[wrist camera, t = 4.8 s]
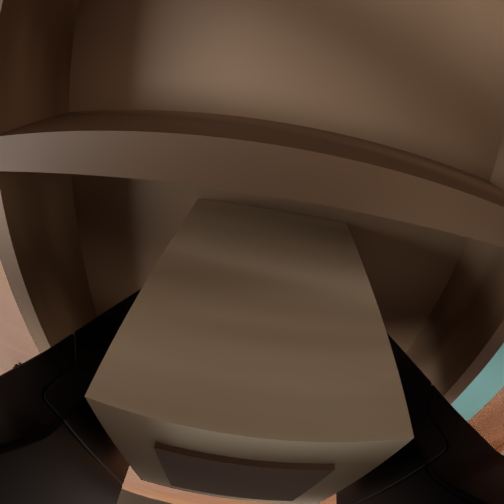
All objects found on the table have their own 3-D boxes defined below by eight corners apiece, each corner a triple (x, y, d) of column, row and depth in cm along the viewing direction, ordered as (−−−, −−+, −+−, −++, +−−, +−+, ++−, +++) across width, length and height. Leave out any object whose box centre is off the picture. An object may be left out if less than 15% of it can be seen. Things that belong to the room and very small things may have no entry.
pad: (467, 416, 14) (468, 420, 14) (371, 425, 15) (372, 431, 14) (538, 335, 10) (541, 340, 10) (445, 333, 10) (448, 340, 10)
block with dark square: (314, 328, 10) (322, 506, 5) (194, 309, 10) (140, 483, 5) (349, 223, 8) (421, 443, 3) (198, 198, 8) (82, 402, 3)
